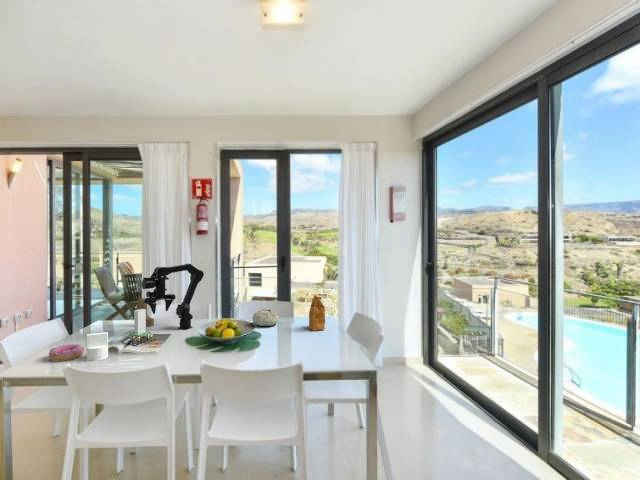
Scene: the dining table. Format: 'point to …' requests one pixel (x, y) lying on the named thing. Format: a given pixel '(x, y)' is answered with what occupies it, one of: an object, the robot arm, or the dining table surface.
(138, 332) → the column on green base
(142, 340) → the plate
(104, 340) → the cylinder with rectangular tab
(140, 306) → the brown boot
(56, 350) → the donut
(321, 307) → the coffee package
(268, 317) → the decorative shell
